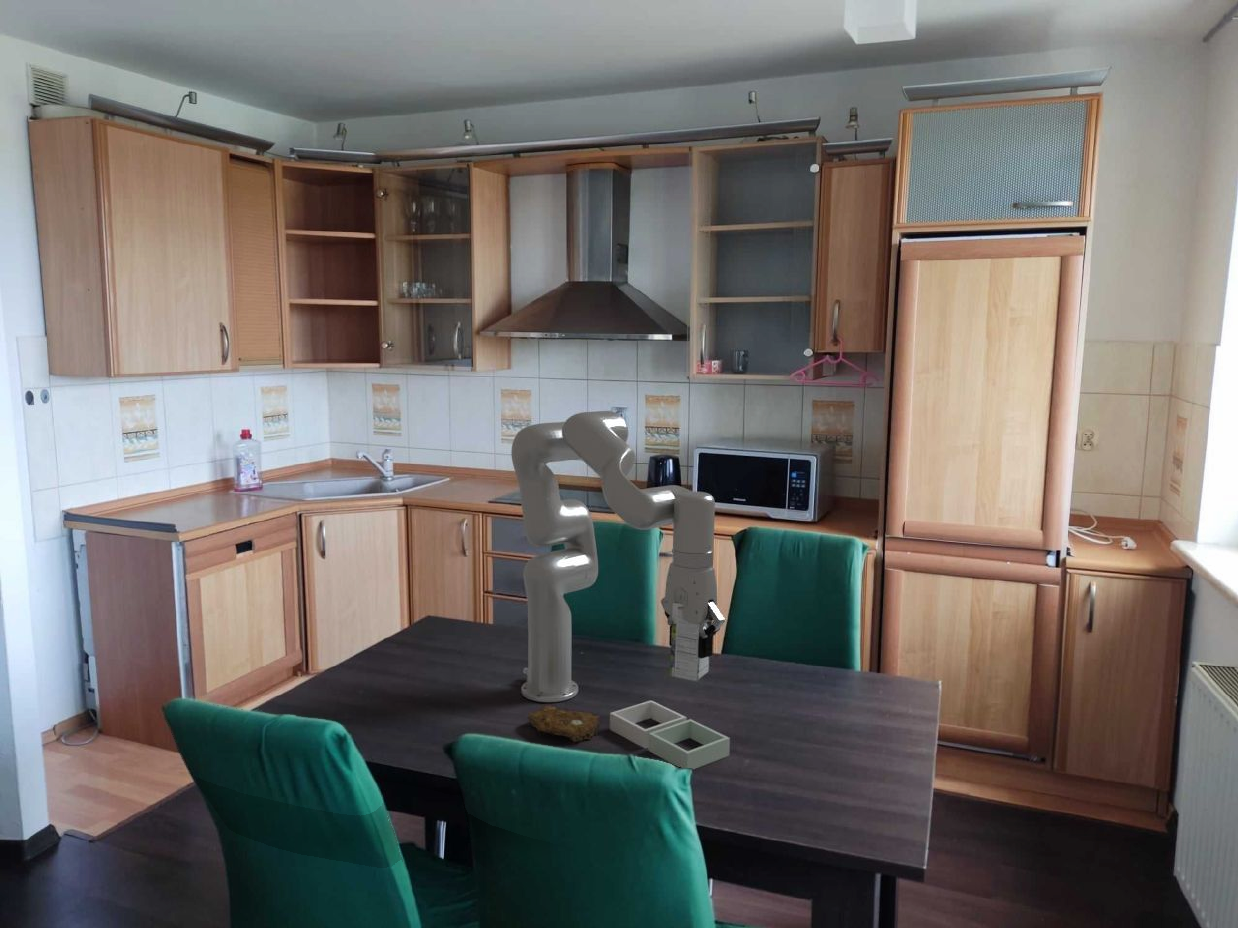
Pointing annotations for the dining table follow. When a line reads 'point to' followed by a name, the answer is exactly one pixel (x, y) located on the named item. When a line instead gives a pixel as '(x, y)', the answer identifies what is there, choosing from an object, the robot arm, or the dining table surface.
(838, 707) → the dining table surface
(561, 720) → the decorative rock
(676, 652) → the syrup box
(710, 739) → the bin
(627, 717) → the bin
